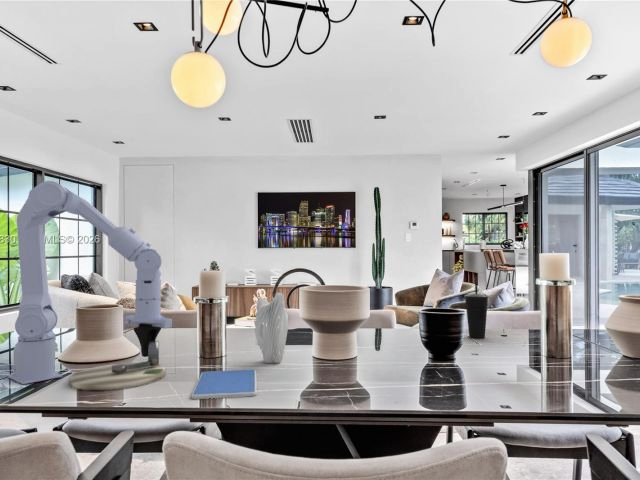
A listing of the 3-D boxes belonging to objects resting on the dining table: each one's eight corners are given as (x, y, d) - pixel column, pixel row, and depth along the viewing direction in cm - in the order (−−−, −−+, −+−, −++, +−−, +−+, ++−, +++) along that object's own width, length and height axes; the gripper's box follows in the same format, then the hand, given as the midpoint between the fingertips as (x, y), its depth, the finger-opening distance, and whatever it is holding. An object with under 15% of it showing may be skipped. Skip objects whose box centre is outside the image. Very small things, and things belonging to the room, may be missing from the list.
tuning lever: (114, 373, 102) (114, 348, 102) (109, 370, 104) (109, 346, 104) (161, 365, 110) (161, 341, 110) (155, 363, 112) (155, 340, 112)
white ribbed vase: (257, 358, 122) (256, 290, 123) (288, 358, 123) (288, 290, 123) (253, 366, 114) (253, 293, 115) (287, 365, 114) (287, 292, 115)
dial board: (53, 379, 103) (53, 374, 103) (138, 363, 118) (138, 358, 118) (93, 396, 90) (93, 391, 90) (183, 375, 105) (183, 370, 105)
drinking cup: (491, 336, 153) (490, 275, 154) (486, 340, 147) (485, 276, 148) (468, 334, 157) (467, 275, 158) (462, 338, 151) (461, 276, 152)
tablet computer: (201, 376, 107) (201, 370, 107) (256, 373, 109) (256, 368, 109) (190, 402, 88) (190, 395, 88) (257, 399, 90) (257, 392, 90)
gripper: (182, 299, 111) (181, 356, 111) (142, 296, 119) (141, 349, 118) (158, 301, 105) (157, 362, 105) (117, 298, 113) (116, 355, 112)
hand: (147, 356), depth 111 cm, fingers closed
